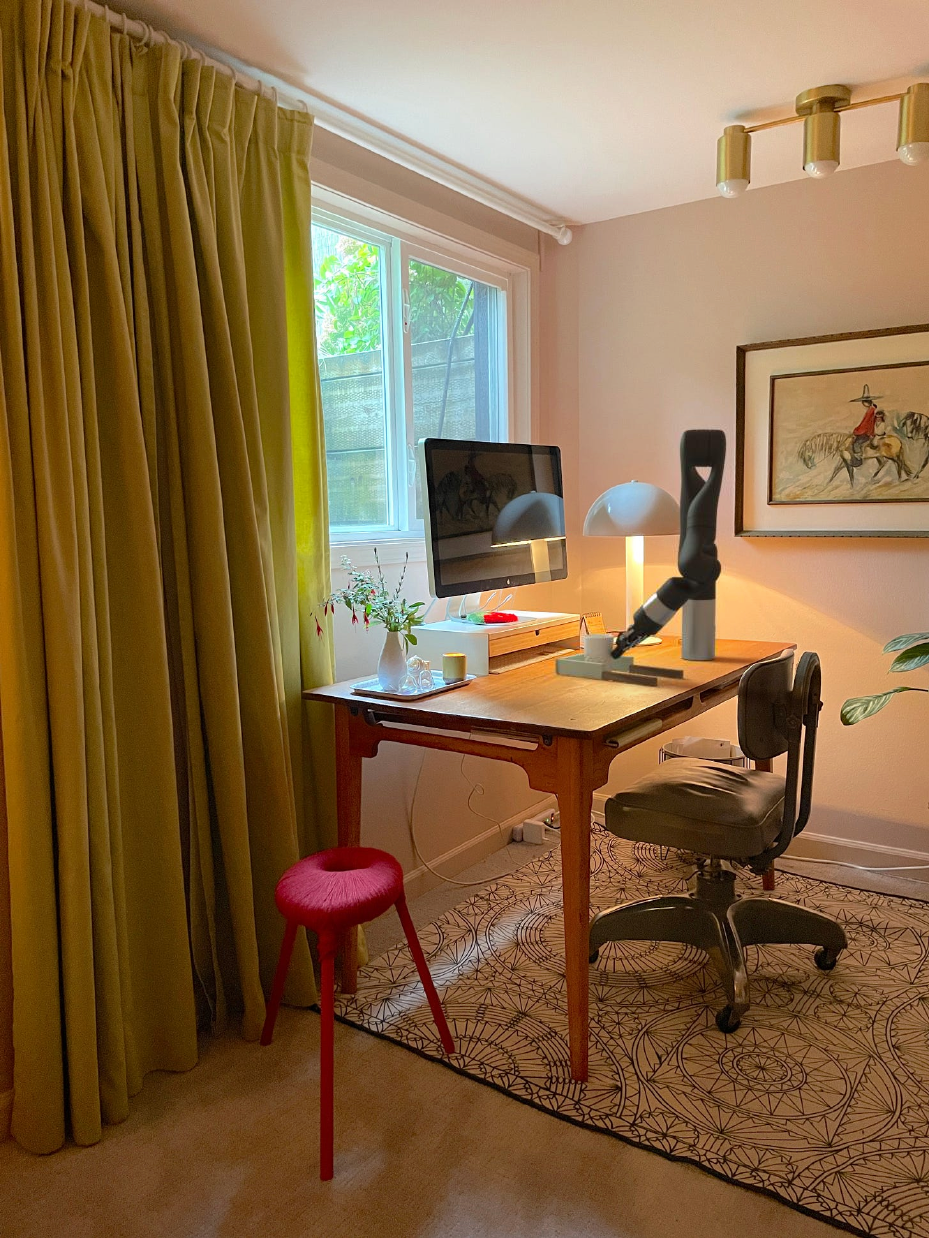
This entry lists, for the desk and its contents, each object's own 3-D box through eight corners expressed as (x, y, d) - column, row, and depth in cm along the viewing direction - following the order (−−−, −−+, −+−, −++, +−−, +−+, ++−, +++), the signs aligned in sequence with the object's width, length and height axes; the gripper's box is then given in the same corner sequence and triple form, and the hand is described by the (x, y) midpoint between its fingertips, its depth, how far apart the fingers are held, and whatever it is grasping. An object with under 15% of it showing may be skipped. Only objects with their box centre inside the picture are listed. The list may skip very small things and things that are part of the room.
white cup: (577, 673, 248) (577, 635, 247) (599, 670, 253) (600, 633, 252) (597, 677, 242) (597, 638, 241) (619, 674, 246) (620, 636, 245)
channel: (632, 671, 249) (632, 664, 249) (683, 678, 239) (683, 670, 239) (601, 679, 238) (601, 671, 238) (654, 686, 228) (654, 678, 228)
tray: (588, 666, 259) (588, 651, 258) (633, 671, 249) (633, 656, 249) (555, 673, 247) (555, 658, 247) (601, 679, 238) (601, 664, 237)
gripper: (660, 599, 241) (618, 642, 250) (632, 603, 231) (590, 648, 240) (678, 621, 238) (635, 664, 247) (651, 626, 228) (608, 671, 237)
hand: (613, 656), depth 244 cm, fingers closed
